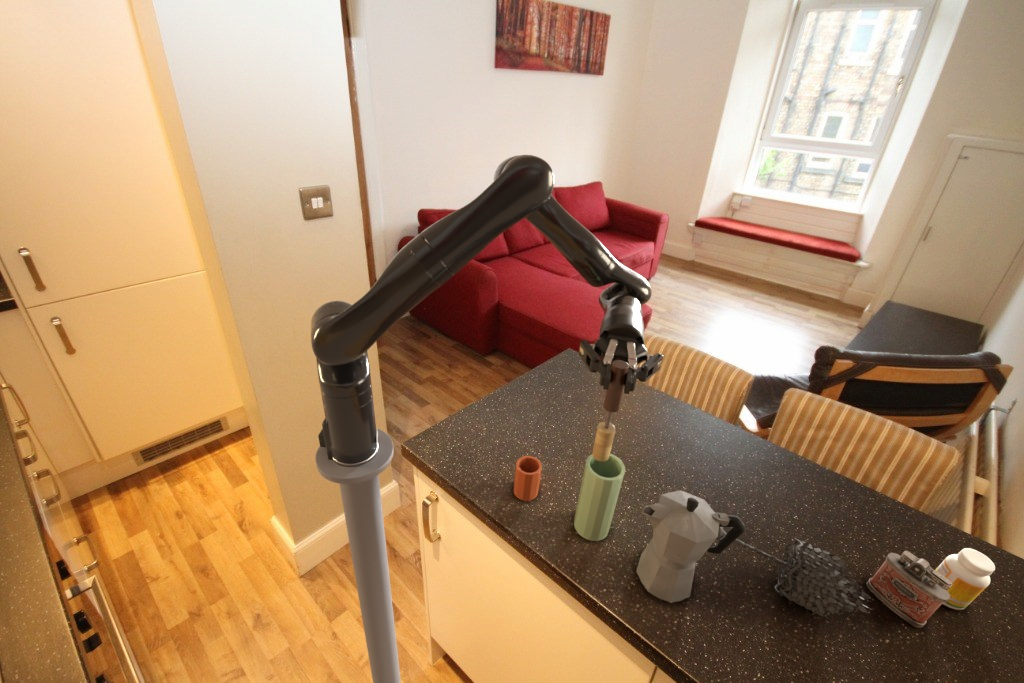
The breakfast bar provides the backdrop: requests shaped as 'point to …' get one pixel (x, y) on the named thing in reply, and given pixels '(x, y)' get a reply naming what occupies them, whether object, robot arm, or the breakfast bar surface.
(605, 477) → the vase
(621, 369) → the bottle brush
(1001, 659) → the breakfast bar surface
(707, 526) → the coffeepot
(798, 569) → the massage brush
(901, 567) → the lighter
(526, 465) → the pot
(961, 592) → the supplement bottle
